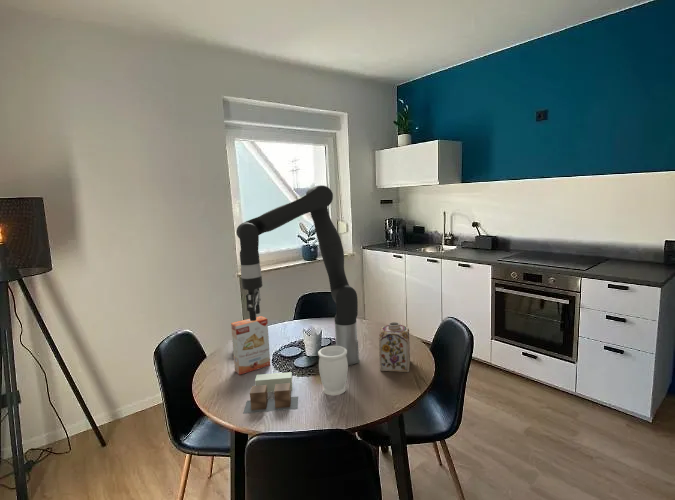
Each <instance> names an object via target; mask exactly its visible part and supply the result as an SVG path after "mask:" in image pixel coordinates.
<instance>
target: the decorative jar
mask: <svg viewBox="0 0 675 500" xmlns="http://www.w3.org/2000/svg"><path fill="white" fill-rule="evenodd" d="M378 341H379V344H378V346H379V348H378V350H379V352H378V353H379V371H381V372H394V373H395V372H398V373H409V372H410V367H411V366H410V363H411V351H410V349H411V347H410V343H411V342H410V329H409V327H407V326H406V325H403V324H400V322H398V321H391V322H389V323H388V324H386V325H385V324H384V326H381V327H380V330H379V337H378Z"/></svg>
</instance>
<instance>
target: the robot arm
mask: <svg viewBox="0 0 675 500" xmlns="http://www.w3.org/2000/svg"><path fill="white" fill-rule="evenodd" d="M333 198H334V193H333V191H332V190H331V188H329V186H327V185H323V184H319V185H314V186H311V187H309V188H308V189H307V191H306V193H305V195H304V196H301V197H300V198H298V199H296V200H293V201H291V202H288V203H286V204H283V205H280V206H278V207H275V208H273V209H271V210H269V211H267V212H265V213H263V214H260V216H257V217H254V218H252V219H249V220H246V221H244V222H242V223H241V224H239V225H238V226H237V228H236V235H237V237H238V239H239V245H240V250H239V261H240V262H239V263H240V279H241V288H242V289H243V290H245V291H246V290H247V293H246V295H245V298H246V308H247V309H246V311H247V312H248V313H249V319H250V321H255V320H256V317H257V315H259V314H260V313H261V305H260V303H261V299H262V298H261V294H260V289H261V288H262V287H263V276H262V266H261V260H260V253H259V244H260V242H259V239H260V235H262V234H264V233H269V232H271V231H273V230H276V229H278V228H280V227H282V226H284V225H286V224H287V223H290V222H292V221H294V220H296V219H298V218H299V217H301V216H304V215H306V214H310V216H311V218H312V221H313V225H314V230H315V234H316V238H317V242H318V246H319V250H320V254H321V257H322V261H323V264H324V267H325V270H326V273H327V277H328V281H329V288H330V294H331V297H332V298H331V299H332V300H333V302H334V303H335V307H336V309H335V310H336V314H335V315H334V333H335V335H334V337H335V346H341V347H344V348H346V350H347V354H346V357H347V363H348V366H352V365H354V364H355V365H356V364H359V363H360V359H359V358H360V356H359V339H358V328H357V327H358V326H357V324H358V322H357V318H358V313H359V311H358V310H359V309H358V305H359V304H358V294H357V291H356V290H355V289H354V288H353V287H352V286H351V285H350V284H349V281H348V279H347V276H346V275H347V274H346V272H345V253H344V247H343V243H342V240H341V239H342V238H341V237H340V234H339V232H338V230H337V228H336V227H335V225H334V223H333V222H332V219H331V216H330V212H329V209H328V207H329V206H330V205H331V204H332V202H333ZM251 306H252V307H251Z"/></svg>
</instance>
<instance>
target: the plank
mask: <svg viewBox="0 0 675 500" xmlns="http://www.w3.org/2000/svg"><path fill="white" fill-rule="evenodd" d="M254 382H255V383H254V384H255V385H254V386H259V385H267V393H274V389H275V384H284V383H290V390H291V391H293V385H294V384H293V383H294V382H293V372H292V371H289V372H277V373H265V374H262V373H261V374H256V377H255V380H254Z"/></svg>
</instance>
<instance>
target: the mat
mask: <svg viewBox="0 0 675 500" xmlns="http://www.w3.org/2000/svg"><path fill="white" fill-rule="evenodd" d="M298 406H299V396H291V406H290V407H284V408H275V397H273V398H268V404H267V408H266V409H260V410H251V401H250V399H249V400H246V403H245V406H244V409H243V412H242V414H253V413H254V414H255V413H265V412H278V411H289V410H298V409H299V407H298Z"/></svg>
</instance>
